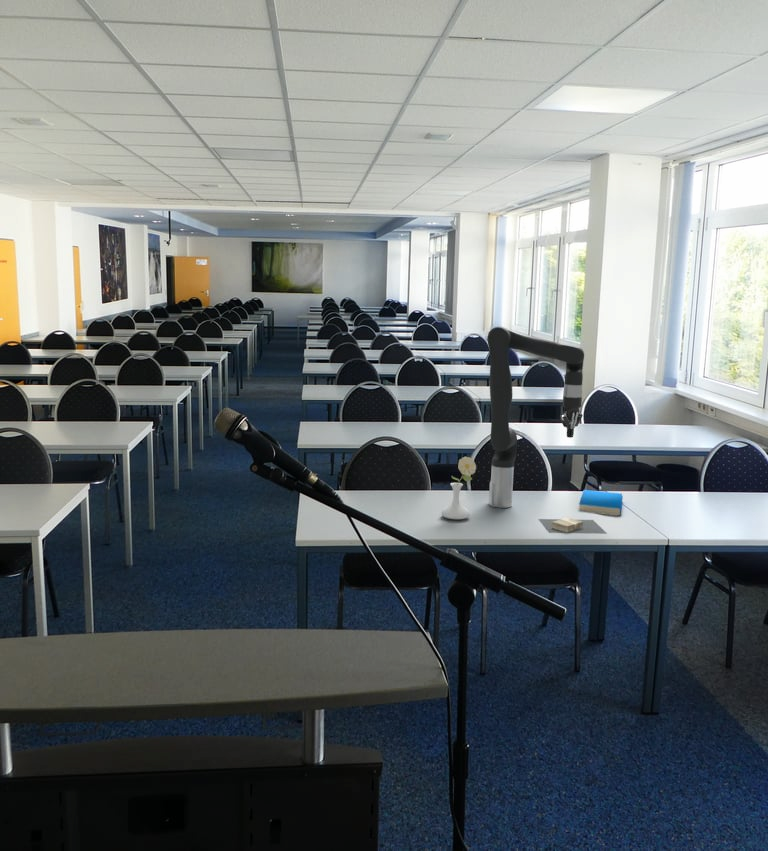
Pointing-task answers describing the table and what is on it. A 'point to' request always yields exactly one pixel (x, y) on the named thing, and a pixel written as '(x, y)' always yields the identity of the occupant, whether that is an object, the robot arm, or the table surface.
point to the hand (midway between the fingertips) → (569, 437)
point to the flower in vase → (455, 507)
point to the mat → (588, 527)
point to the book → (601, 502)
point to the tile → (567, 524)
